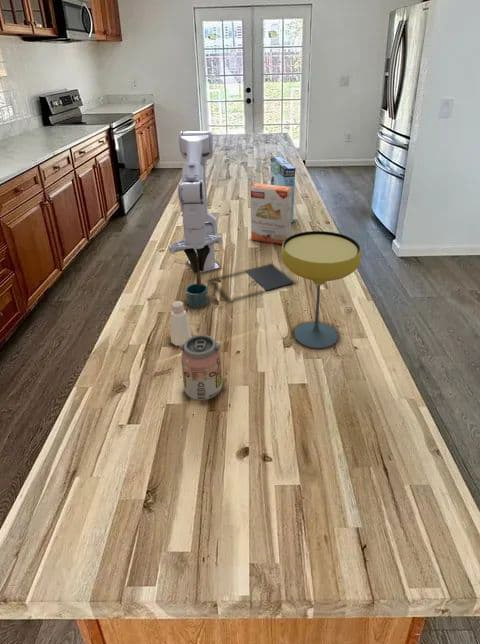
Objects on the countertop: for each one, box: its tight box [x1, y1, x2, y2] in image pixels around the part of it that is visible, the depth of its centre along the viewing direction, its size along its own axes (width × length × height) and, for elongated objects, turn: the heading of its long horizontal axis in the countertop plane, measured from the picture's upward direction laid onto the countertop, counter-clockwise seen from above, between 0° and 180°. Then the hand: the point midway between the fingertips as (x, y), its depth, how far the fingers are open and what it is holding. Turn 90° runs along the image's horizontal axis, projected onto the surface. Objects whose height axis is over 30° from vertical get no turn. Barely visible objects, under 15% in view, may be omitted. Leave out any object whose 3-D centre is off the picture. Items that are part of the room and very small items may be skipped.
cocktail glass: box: [281, 230, 362, 349], centre depth 105 cm, size 18×18×25 cm
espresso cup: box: [185, 283, 209, 308], centre depth 125 cm, size 6×6×4 cm
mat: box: [244, 264, 294, 292], centre depth 135 cm, size 14×22×1 cm, turn 116°
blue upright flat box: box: [269, 156, 296, 223], centre depth 183 cm, size 20×5×23 cm, turn 13°
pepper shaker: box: [170, 300, 192, 347], centre depth 107 cm, size 5×5×11 cm
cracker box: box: [250, 182, 292, 245], centre depth 159 cm, size 14×6×21 cm, turn 68°
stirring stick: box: [195, 256, 202, 286], centre depth 122 cm, size 1×1×9 cm
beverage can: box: [179, 334, 223, 402], centre depth 92 cm, size 9×8×12 cm
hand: (197, 270), depth 122 cm, fingers closed on stirring stick, 1 cm apart
